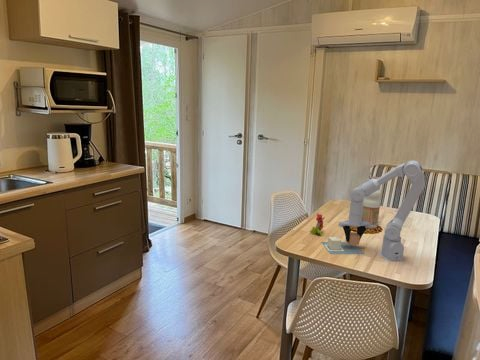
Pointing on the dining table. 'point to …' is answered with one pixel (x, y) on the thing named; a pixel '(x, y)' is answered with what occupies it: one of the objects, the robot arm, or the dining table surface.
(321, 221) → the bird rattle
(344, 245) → the board
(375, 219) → the fruit juice
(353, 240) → the top block
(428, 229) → the dining table surface
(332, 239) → the base block
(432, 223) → the dining table surface
